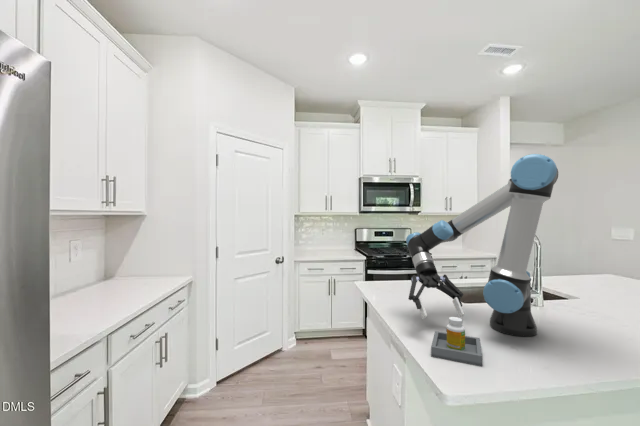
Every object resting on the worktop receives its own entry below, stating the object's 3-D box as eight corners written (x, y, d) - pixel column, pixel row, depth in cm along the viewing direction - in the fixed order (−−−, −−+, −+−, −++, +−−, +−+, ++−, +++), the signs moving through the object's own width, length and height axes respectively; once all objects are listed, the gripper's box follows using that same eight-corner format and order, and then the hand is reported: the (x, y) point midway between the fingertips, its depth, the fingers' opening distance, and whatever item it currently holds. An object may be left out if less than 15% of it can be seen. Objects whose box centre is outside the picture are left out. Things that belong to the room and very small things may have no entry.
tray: (480, 347, 98) (479, 338, 98) (482, 366, 85) (482, 356, 85) (435, 339, 104) (435, 330, 104) (431, 356, 91) (431, 346, 91)
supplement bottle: (464, 354, 91) (464, 322, 91) (445, 350, 94) (445, 319, 94) (465, 347, 96) (465, 317, 96) (448, 343, 98) (447, 314, 98)
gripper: (450, 270, 122) (472, 320, 107) (392, 272, 120) (406, 322, 105) (457, 260, 116) (481, 310, 101) (396, 261, 114) (412, 312, 99)
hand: (443, 316), depth 103 cm, fingers open, 13 cm apart
